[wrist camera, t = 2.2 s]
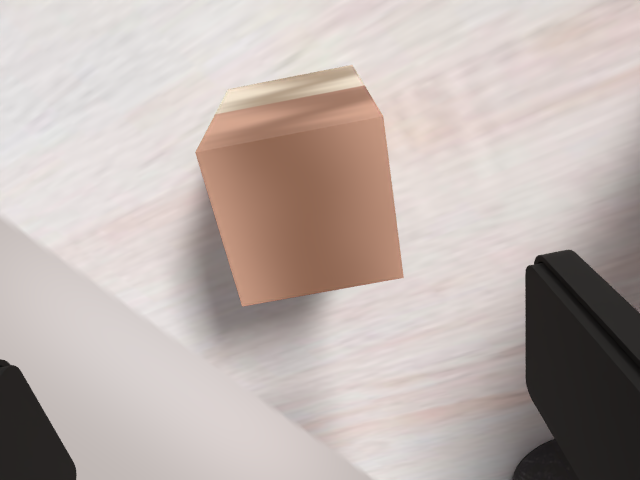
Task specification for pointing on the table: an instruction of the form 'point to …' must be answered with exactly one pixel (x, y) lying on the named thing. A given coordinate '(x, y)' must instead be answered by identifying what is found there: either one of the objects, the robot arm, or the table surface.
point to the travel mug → (545, 464)
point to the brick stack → (302, 186)
